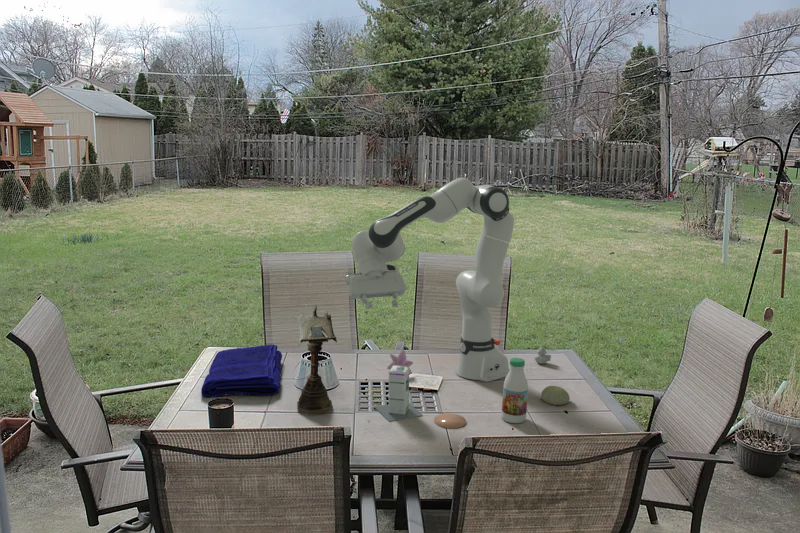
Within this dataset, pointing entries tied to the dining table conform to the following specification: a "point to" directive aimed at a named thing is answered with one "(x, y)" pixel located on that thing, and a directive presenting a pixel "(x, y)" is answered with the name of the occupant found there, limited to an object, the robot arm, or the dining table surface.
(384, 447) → the dining table surface
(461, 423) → the coaster
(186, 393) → the dining table surface
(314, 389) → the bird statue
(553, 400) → the sea urchin shell
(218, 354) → the towel
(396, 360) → the lily
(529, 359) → the dining table surface
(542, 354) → the grey figurine
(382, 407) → the tile
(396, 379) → the syrup box
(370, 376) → the dining table surface
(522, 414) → the milk bottle
